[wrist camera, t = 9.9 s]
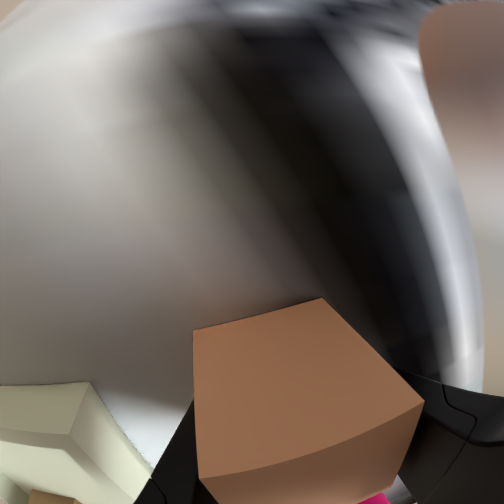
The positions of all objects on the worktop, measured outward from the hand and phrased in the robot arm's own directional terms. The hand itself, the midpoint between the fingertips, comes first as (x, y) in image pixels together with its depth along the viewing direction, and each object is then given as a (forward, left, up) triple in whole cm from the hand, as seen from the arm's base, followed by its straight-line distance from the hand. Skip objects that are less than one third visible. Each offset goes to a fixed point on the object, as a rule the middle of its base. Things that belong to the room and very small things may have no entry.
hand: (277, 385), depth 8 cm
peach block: (0, 0, -1) cm, 1 cm away
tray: (-6, +13, -1) cm, 14 cm away
